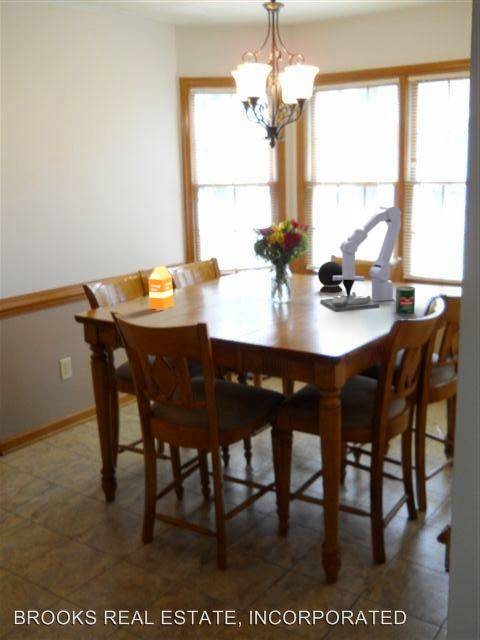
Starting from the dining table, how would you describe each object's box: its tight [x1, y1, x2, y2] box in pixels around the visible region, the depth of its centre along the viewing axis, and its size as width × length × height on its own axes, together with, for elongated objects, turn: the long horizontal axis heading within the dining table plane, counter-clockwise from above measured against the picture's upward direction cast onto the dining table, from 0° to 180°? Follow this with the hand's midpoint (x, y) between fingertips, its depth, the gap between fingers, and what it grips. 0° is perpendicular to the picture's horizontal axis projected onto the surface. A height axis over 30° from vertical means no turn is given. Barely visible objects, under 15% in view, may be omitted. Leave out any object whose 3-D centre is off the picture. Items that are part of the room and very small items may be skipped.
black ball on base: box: [317, 261, 343, 294], centre depth 349 cm, size 13×13×15 cm
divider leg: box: [345, 291, 357, 303], centre depth 318 cm, size 11×2×3 cm, turn 144°
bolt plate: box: [319, 294, 380, 312], centre depth 316 cm, size 21×19×6 cm
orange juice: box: [147, 264, 175, 309], centre depth 323 cm, size 8×9×20 cm
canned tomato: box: [395, 285, 416, 316], centre depth 296 cm, size 8×8×11 cm
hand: (348, 295), depth 321 cm, fingers closed
